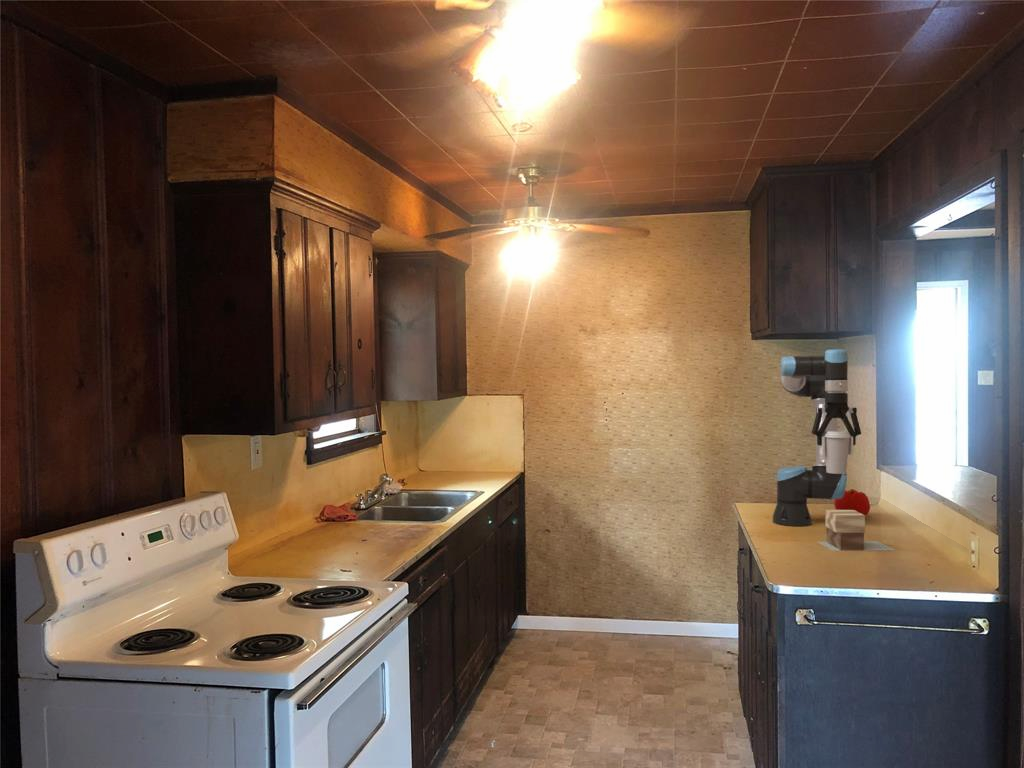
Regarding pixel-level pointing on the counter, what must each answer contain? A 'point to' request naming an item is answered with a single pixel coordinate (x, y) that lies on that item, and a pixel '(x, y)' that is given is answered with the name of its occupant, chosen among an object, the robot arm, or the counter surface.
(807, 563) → the counter surface
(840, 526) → the oak brick
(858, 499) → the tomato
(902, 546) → the counter surface
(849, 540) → the walnut base brick
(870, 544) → the board
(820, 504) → the counter surface
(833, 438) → the coffee cup
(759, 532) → the counter surface
